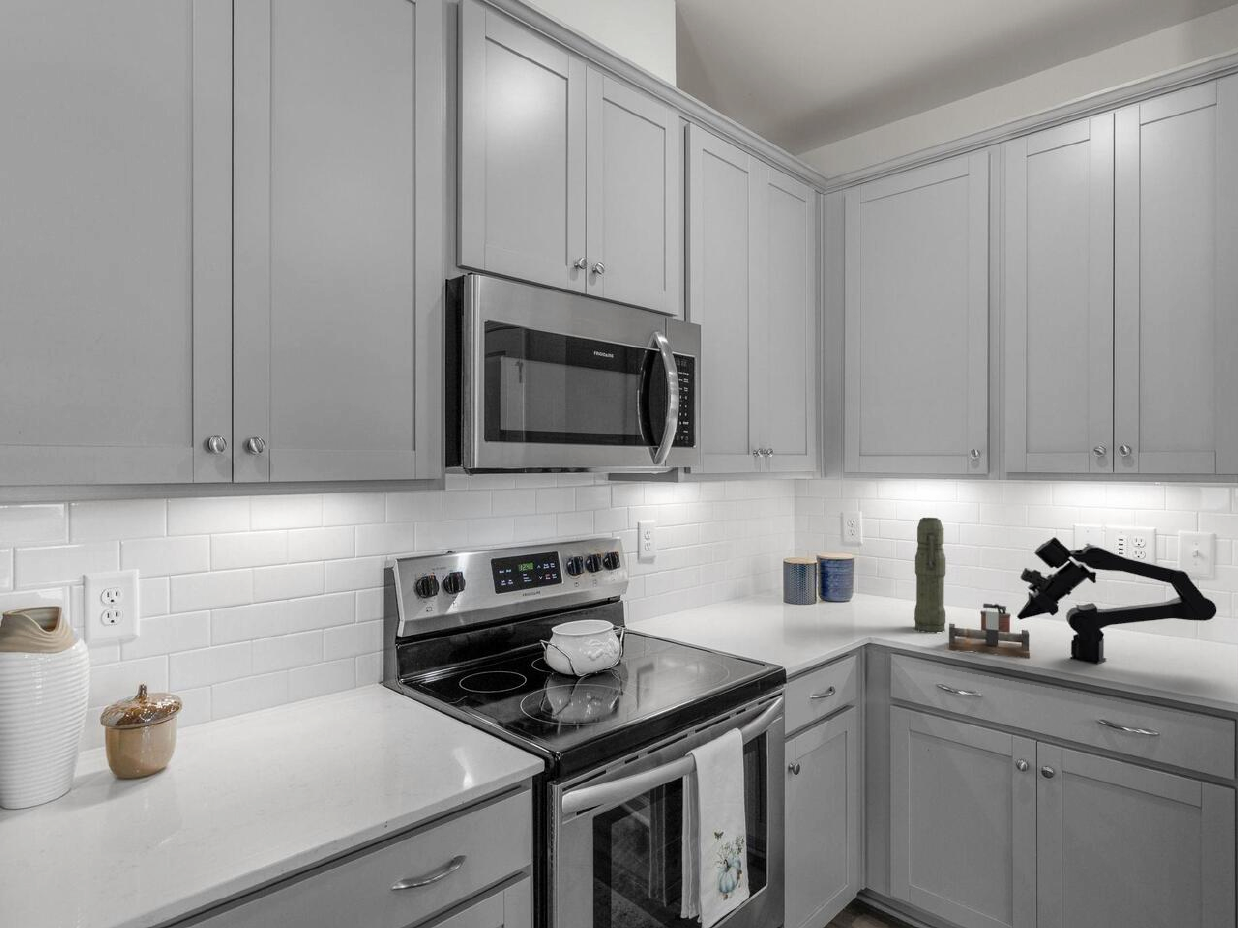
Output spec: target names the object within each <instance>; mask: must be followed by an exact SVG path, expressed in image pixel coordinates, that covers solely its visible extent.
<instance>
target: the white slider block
mask: <svg viewBox="0 0 1238 928" xmlns="http://www.w3.org/2000/svg"><path fill="white" fill-rule="evenodd" d="M985 611H986V639H985V641H986V645H996V646H998V642H999V640H998V627H999V612H998V609H995V608H985Z"/></svg>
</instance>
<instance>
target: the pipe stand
mask: <svg viewBox="0 0 1238 928" xmlns="http://www.w3.org/2000/svg"><path fill="white" fill-rule="evenodd" d="M1012 642H1014V643H1012ZM948 650H949V651H955V650H959V652H964V651H973V652H972V653H974V652H978V654H984V653H987V654H986V655H994V654H997V655H996V656H1003V655H1005V656H1006V657H1013V656H1014V657H1013V658H1023V657H1024V659H1031V652H1030V632H1029V630H1027V629H1021V633H1016V632H1010V633H1007V632H998V646H996V645H986V631H985V630H981V629H973V628H972V629H971V628H963V627H962V628H961V627H956V624H955V623H951V622H949V623H948ZM1005 656H1004V657H1005Z"/></svg>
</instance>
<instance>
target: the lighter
mask: <svg viewBox="0 0 1238 928" xmlns="http://www.w3.org/2000/svg"><path fill="white" fill-rule="evenodd" d="M982 608H984V609H986V608H995V609H998V612H999V627H998V632H1007V633H1011V632H1010V631H1011V626H1010V625H1011V621H1010V619H1011V613H1009V612H1006V611H1007V606H1006V605H1000V604H999V603H995V604H992V603H983V604H982ZM980 630H985V631H986V610H980Z"/></svg>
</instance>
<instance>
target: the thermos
mask: <svg viewBox="0 0 1238 928" xmlns="http://www.w3.org/2000/svg"><path fill="white" fill-rule="evenodd" d="M916 543H917V547H916V551H915V552H916V553H915V555H914V574H915V577H916V579H915V581H916V582H915V588H916V589H915V590H916V593H915V601H916V602H915V606H914V609H913V610H914V614H913V615H914V617H913V619H914V629H915V631H918V630H919V631H918V632H921V631H924V632H923V633H927V632H934V633H933V634H938V633H937V632H942V633H944V632H945V631H946V630H945V624H946V610H945V607H944V593H945V591H944V587H945V586H944V581H945V580H944V579H945V576H946V556H945V553H944V548H943V545H944V526H943V523H942V520H941V519H939V518H936V517H922V518H920V519H919V521H918V524H917V527H916ZM943 631H944V632H943Z"/></svg>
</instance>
